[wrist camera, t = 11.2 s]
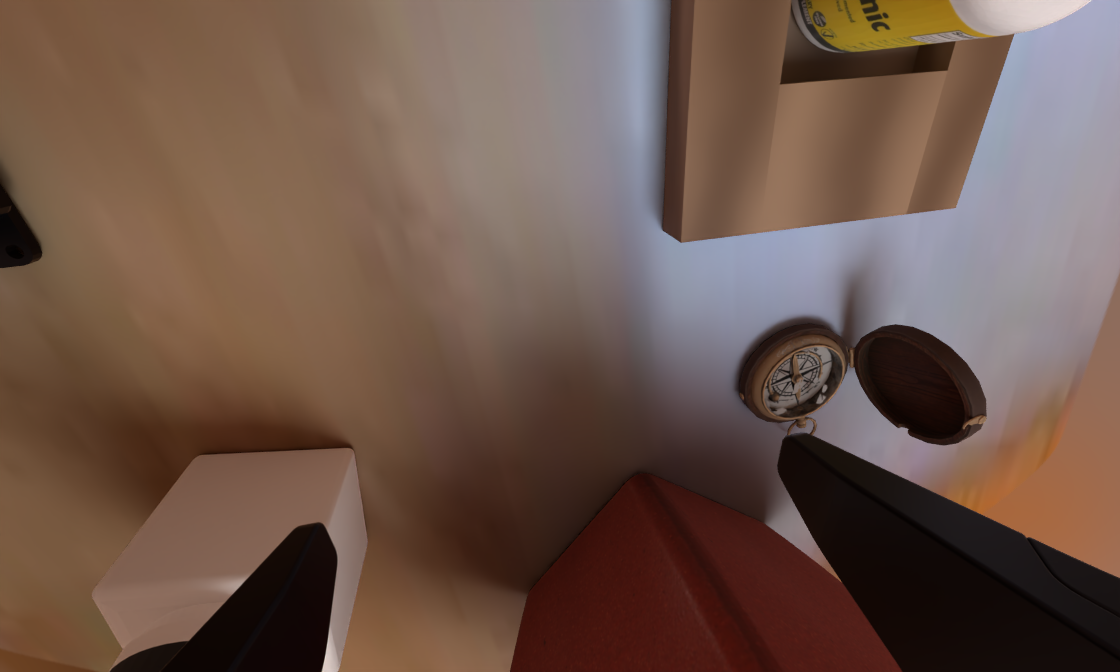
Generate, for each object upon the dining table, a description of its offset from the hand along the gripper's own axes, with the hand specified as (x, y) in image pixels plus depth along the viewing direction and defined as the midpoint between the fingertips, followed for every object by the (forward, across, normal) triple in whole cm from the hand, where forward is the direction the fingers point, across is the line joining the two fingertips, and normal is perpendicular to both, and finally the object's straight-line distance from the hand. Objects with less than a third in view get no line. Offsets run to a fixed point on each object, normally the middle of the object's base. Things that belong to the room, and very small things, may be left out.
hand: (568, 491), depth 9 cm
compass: (+13, -16, +9) cm, 23 cm away
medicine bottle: (+13, +13, +11) cm, 22 cm away
